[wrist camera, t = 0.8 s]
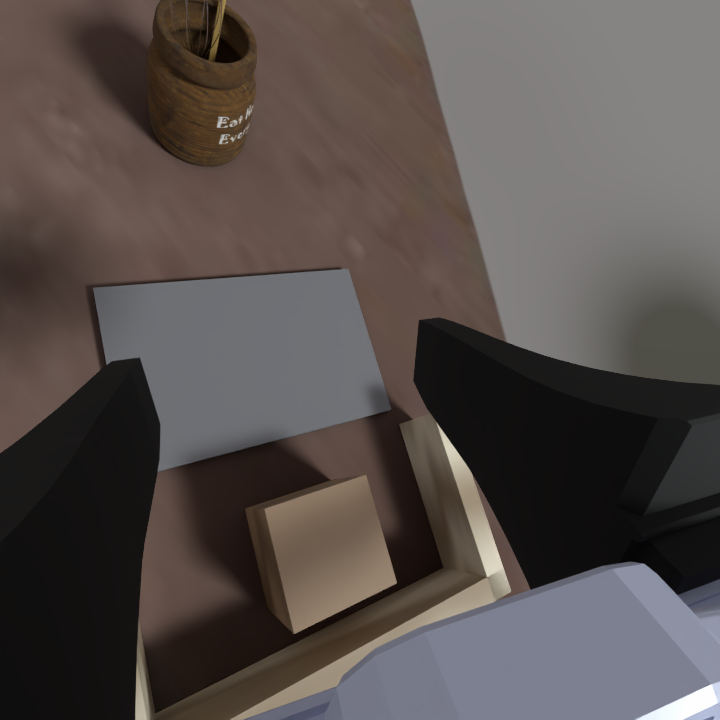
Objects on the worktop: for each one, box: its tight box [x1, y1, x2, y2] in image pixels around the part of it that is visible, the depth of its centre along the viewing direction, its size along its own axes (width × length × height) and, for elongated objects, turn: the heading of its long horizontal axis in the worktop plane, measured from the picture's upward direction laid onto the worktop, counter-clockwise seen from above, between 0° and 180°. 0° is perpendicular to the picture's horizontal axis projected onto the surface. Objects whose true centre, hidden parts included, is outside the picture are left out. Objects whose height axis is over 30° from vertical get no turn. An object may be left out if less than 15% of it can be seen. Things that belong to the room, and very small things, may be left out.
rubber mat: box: [93, 269, 392, 472], centre depth 25 cm, size 10×15×1 cm, turn 108°
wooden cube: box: [245, 475, 397, 634], centre depth 21 cm, size 5×5×5 cm
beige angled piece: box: [135, 413, 511, 720], centre depth 21 cm, size 10×18×4 cm, turn 108°
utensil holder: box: [147, 0, 257, 166], centre depth 23 cm, size 6×6×12 cm
